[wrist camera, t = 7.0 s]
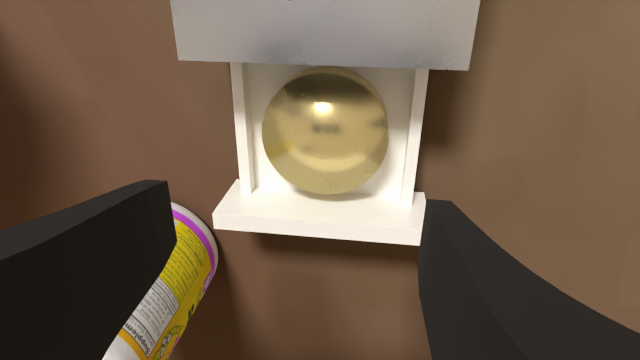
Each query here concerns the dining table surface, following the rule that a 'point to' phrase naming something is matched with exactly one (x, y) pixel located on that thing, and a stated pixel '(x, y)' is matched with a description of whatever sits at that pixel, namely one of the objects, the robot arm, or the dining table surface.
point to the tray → (327, 209)
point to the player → (328, 32)
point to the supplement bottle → (170, 294)
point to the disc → (326, 130)
